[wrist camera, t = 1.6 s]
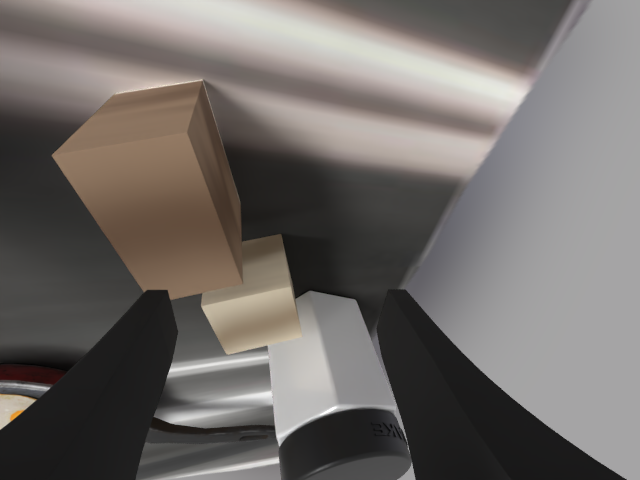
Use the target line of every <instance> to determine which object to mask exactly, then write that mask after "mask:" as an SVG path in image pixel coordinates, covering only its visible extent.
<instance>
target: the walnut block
mask: <svg viewBox="0 0 640 480" xmlns="http://www.w3.org/2000/svg"><path fill="white" fill-rule="evenodd" d="M52 157H53V158H54V160H55V161H56V163H57V164H58V166H59V167H60V169H61V170H62V172H63V173H64V175H65V176H66V178H67V179H68V181H69V182H70V184H71V185H72V186H73V188H74V189H75V191H76V192H77V194H78V195H79V197H80V198H81V200H82V201H83V203H84V204H85V206H86V207H87V209H88V210H89V212H90V213H91V215H92V216H93V218H94V219H95V220H96V222H97V223H98V225H99V226H100V228H101V229H102V231H103V232H104V234H105V235H106V237H107V238H108V240H109V241H110V243H111V244H112V246H113V247H114V249H115V250H116V252H117V253H118V254H119V256H120V257H121V259H122V260H123V262H124V263H125V265H126V266H127V268H128V269H129V271H130V272H131V274H132V275H133V277H134V278H135V280H136V281H137V283H138V284H139V286H140V287H141V288H142V290H143V291H144V292H145V291H146V290H168V293H169V297H170V300H172V299H177V298H181V297H186V296H190V295H195V294H200V293H204V292H209V291H213V290H218V289H223V288H227V287H232V286H236V285H241V284H243V268H242V236H241V204H240V199H239V196H238V193H237V189H236V186H235V183H234V180H233V176H232V173H231V170H230V166H229V163H228V160H227V157H226V153H225V150H224V147H223V143H222V140H221V137H220V134H219V130H218V127H217V124H216V120H215V117H214V114H213V111H212V107H211V104H210V101H209V97H208V94H207V91H206V88H205V84H204V81H203V79H202V80H195V81H189V82H183V83H176V84H170V85H163V86H157V87H150V88H144V89H138V90H131V91H125V92H118V93H115V94H114V95H113V96H112V97H111V98H110V99H109V100H108V101H107V102H106V103H105V104H104V105H103V106H102V107H101V108H100V109H99V110H98V111H97V112H96V113H95V114H94V115H93V116H91V117H90V118H89V119H88V120H87V121H86V122H85V123H84V124H83V125H82V126H81V127H80V128H79V129H78V130H77V131H76V132H75V133H74V134H73V135H72V136H71V137H70V138H69V139H68V140H67V141H66V142H65V143H64V144H63V145H62V146H61V147H60V148H58V149H57V150H56V151H55V152H54V153H53V154H52Z"/></svg>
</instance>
